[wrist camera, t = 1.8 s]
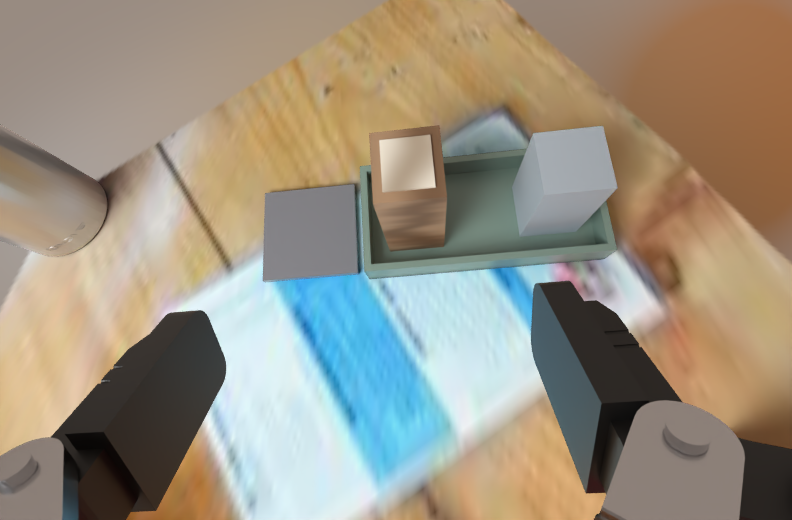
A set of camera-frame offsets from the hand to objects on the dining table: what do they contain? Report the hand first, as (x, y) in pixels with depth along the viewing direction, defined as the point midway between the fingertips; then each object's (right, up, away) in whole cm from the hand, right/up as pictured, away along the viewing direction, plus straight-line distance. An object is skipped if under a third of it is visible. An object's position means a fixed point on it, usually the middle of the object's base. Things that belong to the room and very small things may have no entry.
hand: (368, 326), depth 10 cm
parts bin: (+8, +6, +29) cm, 31 cm away
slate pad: (-8, +4, +30) cm, 31 cm away
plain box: (+14, +6, +28) cm, 32 cm away
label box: (+2, +5, +29) cm, 30 cm away
